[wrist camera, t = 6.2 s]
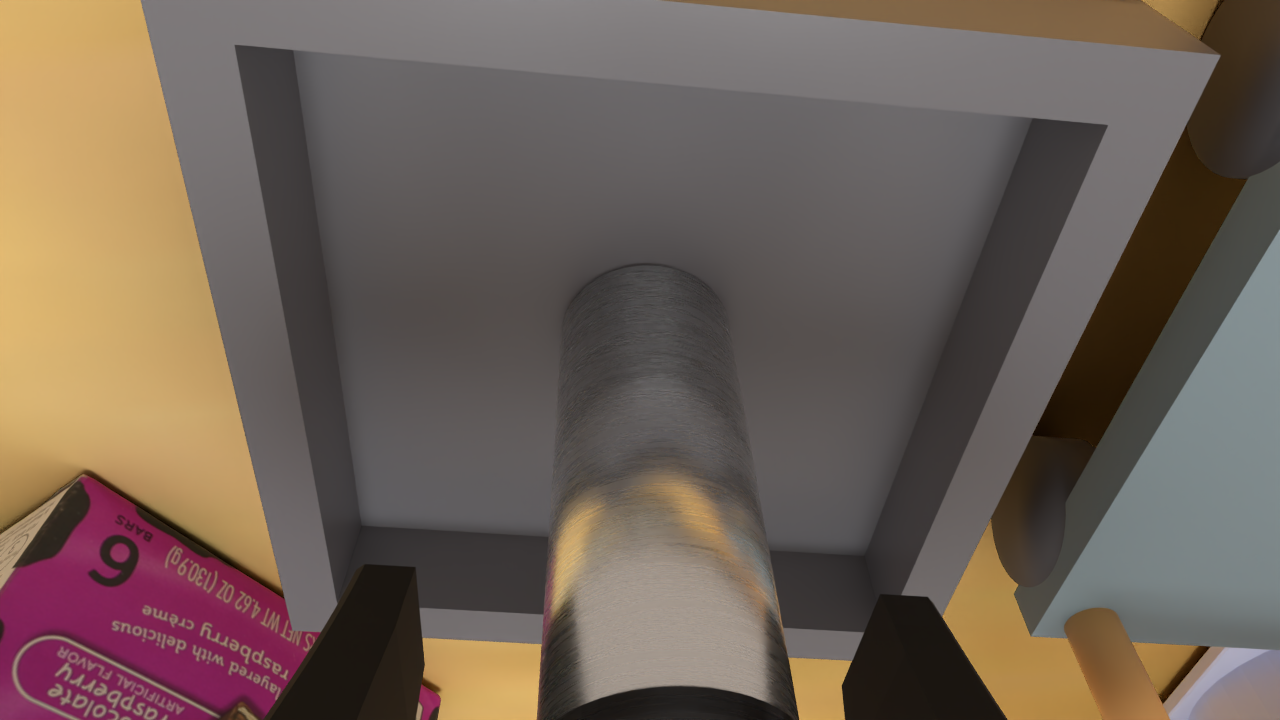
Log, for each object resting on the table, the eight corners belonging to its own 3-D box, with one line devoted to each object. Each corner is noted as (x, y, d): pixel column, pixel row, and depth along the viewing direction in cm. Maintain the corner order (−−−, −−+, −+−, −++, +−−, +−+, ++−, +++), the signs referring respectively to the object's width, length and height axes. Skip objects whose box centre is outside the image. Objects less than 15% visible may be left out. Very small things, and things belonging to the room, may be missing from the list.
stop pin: (713, 406, 17) (786, 938, 10) (552, 392, 17) (513, 932, 10) (749, 273, 15) (869, 814, 8) (567, 252, 15) (532, 801, 8)
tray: (888, 559, 21) (918, 664, 19) (329, 525, 20) (292, 630, 18) (1124, -12, 13) (1220, 54, 11) (218, -104, 12) (128, -52, 10)
